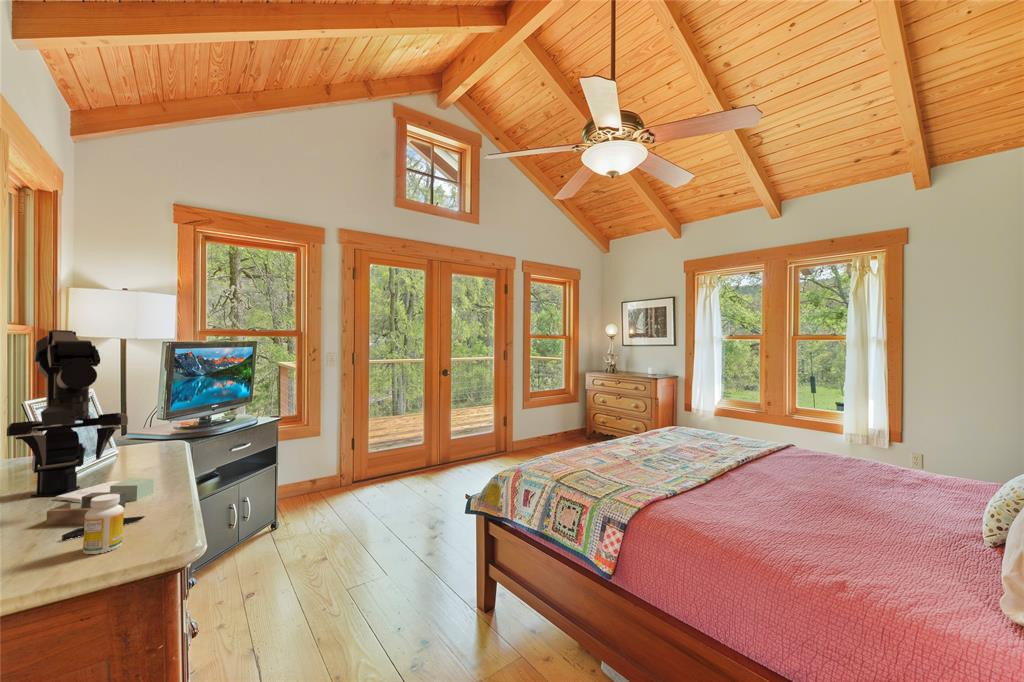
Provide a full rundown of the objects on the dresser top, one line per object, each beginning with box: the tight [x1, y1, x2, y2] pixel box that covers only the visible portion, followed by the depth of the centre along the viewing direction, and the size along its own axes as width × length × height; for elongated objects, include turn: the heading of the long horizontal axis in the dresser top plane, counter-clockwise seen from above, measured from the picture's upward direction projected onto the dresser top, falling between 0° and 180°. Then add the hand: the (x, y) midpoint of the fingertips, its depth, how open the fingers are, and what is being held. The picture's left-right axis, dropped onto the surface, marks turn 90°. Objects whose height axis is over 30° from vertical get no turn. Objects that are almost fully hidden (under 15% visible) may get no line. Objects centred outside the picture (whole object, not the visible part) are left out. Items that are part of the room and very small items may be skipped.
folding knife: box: [61, 515, 147, 542], centre depth 90 cm, size 13×1×2 cm, turn 147°
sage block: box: [110, 477, 155, 502], centre depth 109 cm, size 6×6×4 cm
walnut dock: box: [46, 502, 92, 526], centre depth 94 cm, size 10×5×3 cm, turn 98°
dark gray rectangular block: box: [80, 492, 127, 509], centre depth 100 cm, size 7×3×4 cm, turn 98°
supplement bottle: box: [82, 494, 125, 555], centre depth 82 cm, size 5×5×10 cm
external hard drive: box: [54, 480, 120, 503], centre depth 112 cm, size 2×8×12 cm
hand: (70, 462), depth 98 cm, fingers open, 9 cm apart
